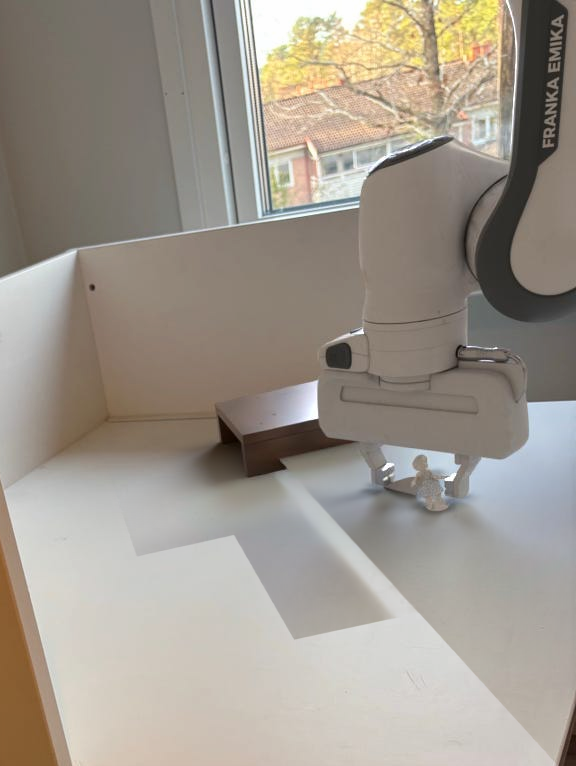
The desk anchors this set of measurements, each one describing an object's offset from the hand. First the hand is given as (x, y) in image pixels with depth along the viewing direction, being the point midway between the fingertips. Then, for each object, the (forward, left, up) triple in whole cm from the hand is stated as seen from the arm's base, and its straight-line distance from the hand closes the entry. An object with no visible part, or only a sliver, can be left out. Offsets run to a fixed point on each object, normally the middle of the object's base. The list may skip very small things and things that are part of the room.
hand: (418, 489), depth 92 cm
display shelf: (+5, -26, -2) cm, 26 cm away
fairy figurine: (0, 0, -2) cm, 2 cm away
